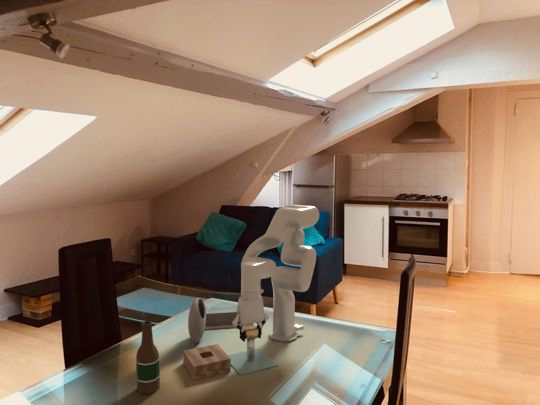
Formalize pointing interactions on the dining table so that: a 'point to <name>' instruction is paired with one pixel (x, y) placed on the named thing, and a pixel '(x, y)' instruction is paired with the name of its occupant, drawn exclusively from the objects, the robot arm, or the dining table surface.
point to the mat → (251, 362)
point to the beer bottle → (147, 362)
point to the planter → (197, 320)
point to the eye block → (206, 361)
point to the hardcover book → (221, 320)
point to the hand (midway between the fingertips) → (250, 338)
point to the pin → (251, 340)
